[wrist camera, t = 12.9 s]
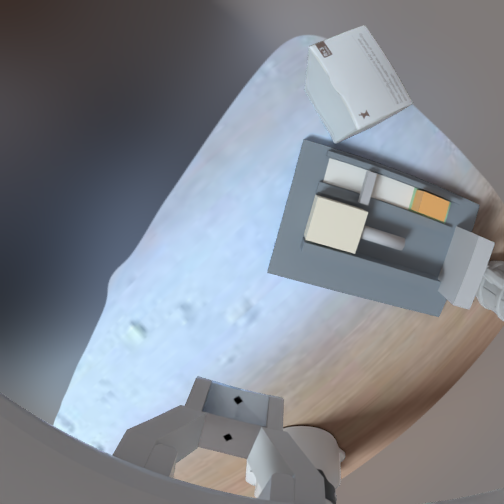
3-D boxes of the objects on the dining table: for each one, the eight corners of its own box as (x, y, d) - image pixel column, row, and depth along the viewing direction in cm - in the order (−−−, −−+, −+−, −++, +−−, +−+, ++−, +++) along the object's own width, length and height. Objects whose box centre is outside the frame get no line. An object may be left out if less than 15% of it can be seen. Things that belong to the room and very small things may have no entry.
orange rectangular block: (435, 218, 36) (443, 221, 34) (410, 209, 36) (418, 212, 34) (441, 199, 35) (449, 202, 33) (416, 189, 35) (424, 191, 33)
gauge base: (435, 313, 41) (456, 336, 34) (267, 269, 41) (264, 290, 34) (475, 204, 36) (504, 212, 29) (303, 140, 37) (307, 134, 30)
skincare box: (373, 126, 35) (420, 107, 21) (331, 146, 37) (360, 134, 22) (340, 69, 34) (369, 21, 19) (298, 87, 35) (307, 44, 21)
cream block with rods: (391, 259, 38) (399, 266, 35) (303, 234, 38) (305, 239, 35) (414, 188, 35) (424, 191, 32) (325, 158, 36) (328, 157, 33)
